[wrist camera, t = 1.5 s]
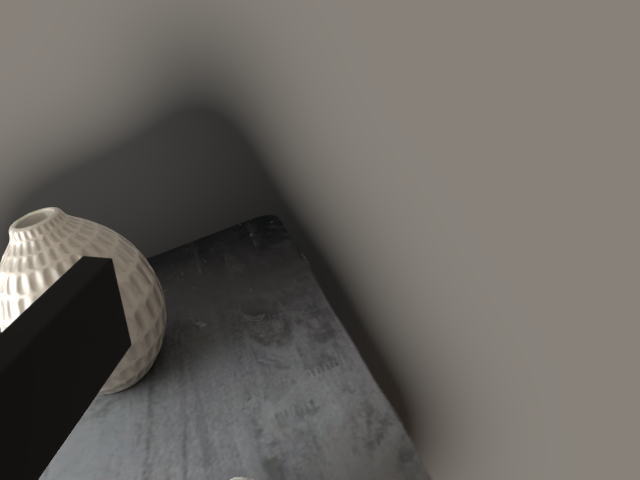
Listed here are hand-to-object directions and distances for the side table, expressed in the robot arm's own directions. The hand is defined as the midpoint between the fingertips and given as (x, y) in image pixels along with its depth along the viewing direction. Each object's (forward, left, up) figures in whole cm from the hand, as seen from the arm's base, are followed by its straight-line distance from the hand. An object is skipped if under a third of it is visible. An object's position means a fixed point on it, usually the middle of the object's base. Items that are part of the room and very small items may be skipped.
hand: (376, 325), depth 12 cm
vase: (+36, +7, -22) cm, 43 cm away
